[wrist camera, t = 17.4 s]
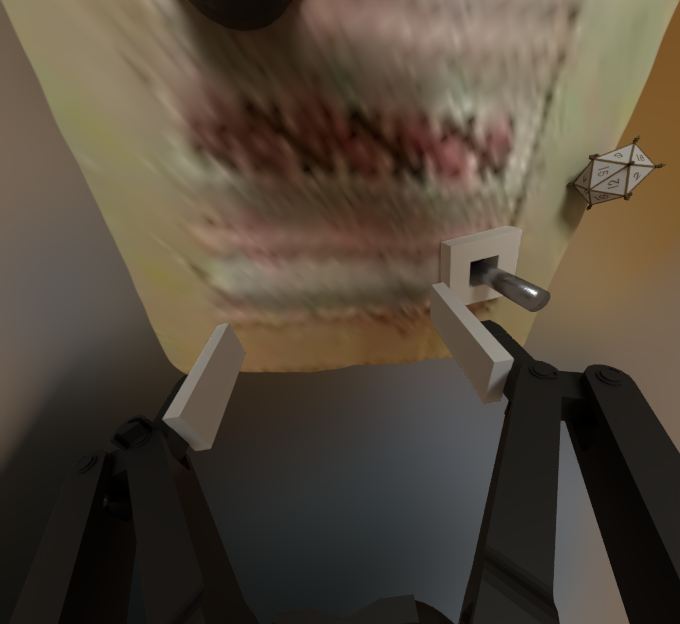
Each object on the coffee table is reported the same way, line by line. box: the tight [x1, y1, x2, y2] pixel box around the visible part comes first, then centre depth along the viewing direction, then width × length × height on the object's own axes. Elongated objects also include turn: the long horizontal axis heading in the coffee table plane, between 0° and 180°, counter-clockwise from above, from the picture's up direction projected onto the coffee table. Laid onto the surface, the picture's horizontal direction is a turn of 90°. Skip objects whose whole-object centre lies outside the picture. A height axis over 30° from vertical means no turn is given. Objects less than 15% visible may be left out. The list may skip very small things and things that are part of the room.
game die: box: [566, 136, 666, 210], centre depth 36 cm, size 9×8×10 cm
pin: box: [470, 259, 550, 312], centre depth 39 cm, size 3×3×15 cm
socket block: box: [440, 225, 523, 305], centre depth 44 cm, size 12×12×4 cm
